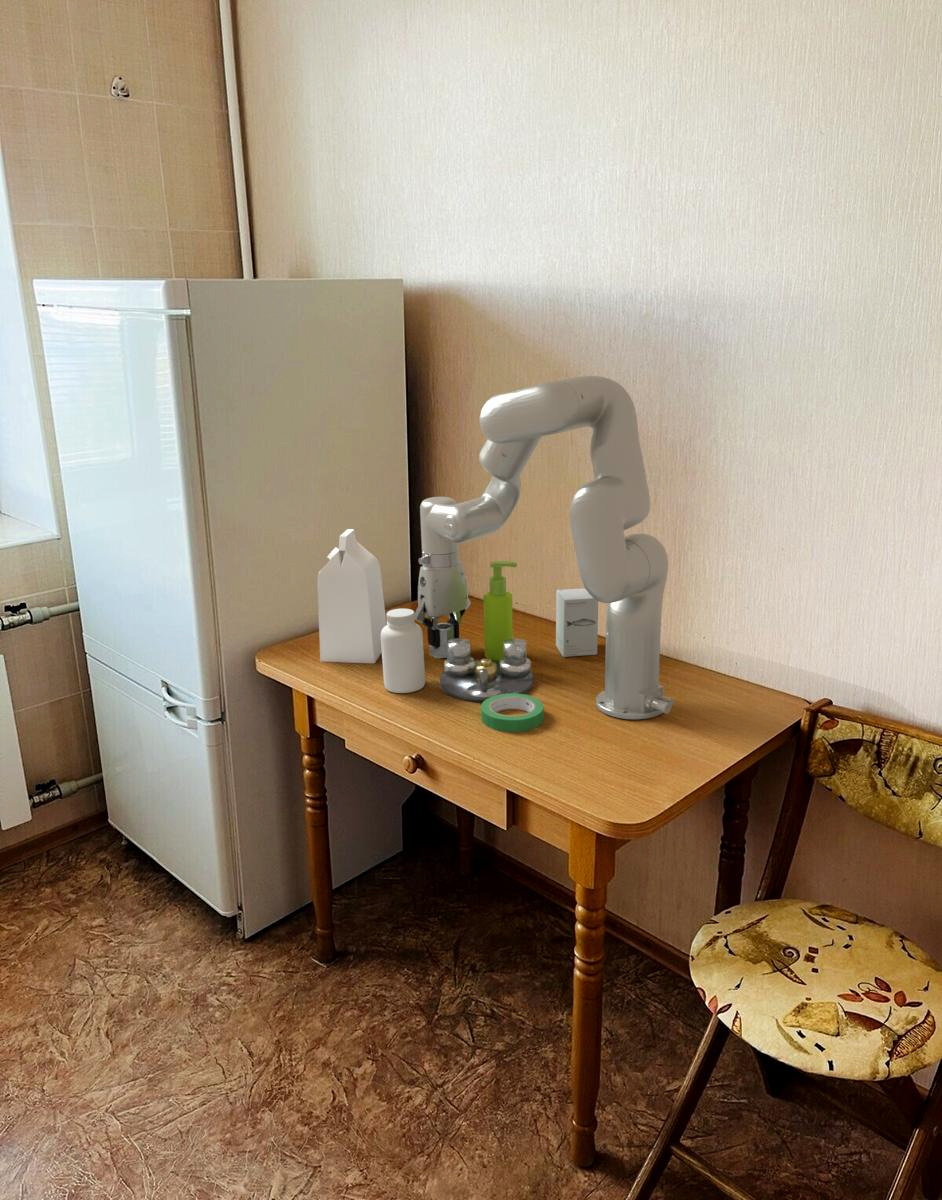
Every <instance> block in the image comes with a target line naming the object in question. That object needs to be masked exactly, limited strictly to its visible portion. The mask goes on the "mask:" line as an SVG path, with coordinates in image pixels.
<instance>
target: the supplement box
mask: <svg viewBox="0 0 942 1200" xmlns="http://www.w3.org/2000/svg"><path fill="white" fill-rule="evenodd" d="M555 593H556V594H555V595H556V596H555V597H556V598H555V600H556V602H555V608H556V609H555V620H556V622H555V646H556V648H557V649H558V651H559V653H560V654H561V656H562V657H563V658H566V657H578V656H582V657H583V656H597V654H598V630H599V629H598V628H599V627H598V626H599V625H598V624H599V623H598V621H599V601H598V600H596V599H594V598H593V597H592V596H591V595H590V594H589V593H588V592H587V590H586V589H585V587H584V588H570V589H567V588H566V589H556V591H555Z"/></svg>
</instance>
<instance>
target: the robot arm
mask: <svg viewBox="0 0 942 1200" xmlns="http://www.w3.org/2000/svg"><path fill="white" fill-rule="evenodd" d="M586 427H589V428H591V429H592V434H591V439H590V446H589V447H590V448H589V449H590V450H589V451H590V460H591V465H592V470H593V480H591V481H589V482H586V483H584V484H582V485H581V486H580V487H579V488H578V489H577V490H576V491H575V493H574V494H573V497H572V499H571V501H570V506H569V523H570V529H571V536H572V540H573V545H574V551H575V555H576V560H577V562H576V563H577V565H578V570H579V576H580V579H581V581H582V584H583V587H584V588H585V589H586V590H587V592H588V593H589V594H590V595H591V596H592V597H593V598H594V599H596V600H598V602H600V603H604V604H607V607H606V617H605V619H606V621H605V622H606V623H605V658H604V659H605V664H604V668H605V669H604V690H602V691H601V692H599V693H598V694H597V695H596V698H595V705H596V707H597V708H598V710H599V711H600V712H601V713H603V714H606V715H607V716H611V717H613V718H618V719H624V720H645V719H652V718H655V717H657V716H660V715H661V714H667V715H668V714H669V713H670V712H671V710H672V706H674V703H675V700H674V698H672V697H669V696H665V695H664V685H661V684H660V683H659V682H660V661H661V660H660V658H661V657H660V654H661V633H662V631H661V630H662V629H661V628H662V612H663V611H662V610H663V599H664V595H665V594H664V593H665V588H666V583H667V579H668V573H669V558H668V553H667V551H666V547H665V546H664V545H663V543H662V542H661V541H660V540H659V539H658V538H656V537H655V536H653V535H651V534H646V533H633V534H627V535H626V536H625V531H626V530H629V529H631V528H633V527H635V526H637V525H639V524H641V523H642V522H644V521H645V520H646V519H647V517H648V515H649V513H650V510H651V496H650V492H649V485H648V484H649V483H648V479H647V474H646V469H645V467H646V466H645V463H644V457H643V452H642V449H641V442H640V441H641V440H640V435H639V427H638V417H637V413H636V407H635V404H634V401H633V399H632V397H631V396H630V393H629V392H628V391H627V390H626V389H625V387H624V386H622V385H621V384H620V383H618V382H616V381H614V380H613V379H610V378H608V377H604V376H599V375H583V376H576V377H569V378H565V379H557V380H553V381H548V382H543V383H539V384H535V385H531V386H527V387H525V388H523V387H522V388H520V389H516V390H513V391H508V392H507V391H506V392H503V393H498V394H494V395H493V396H491V397H489V398H488V400H486V402H485V403H484V404H483V406H482V408H481V411H480V415H479V428H480V430H481V432H482V435H483V436H484V437H485V438H486V441H485V443H484V444H483V446H482V448H481V451H480V452H479V454H478V460H479V463H480V465H481V467H482V468H483V470H485V471H486V473H488V474H489V475H490V476H491V478H490V481H489V483H488V485H487V487H486V488H485V490H484V492H483V493H482V494H481V496H480V497H476V498H473V499H470V500H467V501H464V502H460V503H457V501H456V500H455V499H454V498H452V497H448V496H433V497H428V498H425V499H424V500H422V502H421V503H420V506H419V509H420V510H419V514H420V515H419V516H420V532H421V533H420V536H421V537H420V538H421V539H420V540H421V557H419V558H418V564H419V565H422V566H420V568H419V575H418V583H417V584H418V585H417V603H418V606H417V607H416V610H415V611H414V612H415V621H418V622H420V623H421V624H422V625H423V626H424V627H425V628H427V629H426V630H427V642H428V643H427V644H428V645H429V646H430V645H431V646H433V647H436V648H438V647H440V630H439V629H437V625H438V623H439V617H443V616H446V615H448V620H446V623H450V624H453V625H454V632H455V639H456V638H460V623H461V622H462V617H463V616H464V614H465V612H466V610H468V608H469V607H470V605H472V604H471V600H470V599H469V592H468V582H467V581H468V580H467V575H466V571H465V566H464V563H463V562H461V561H460V544H463V543H468V542H472V541H474V540H476V539H478V538H483V537H485V536H488V535H492V534H494V533H496V532H498V531H499V530H501V528H503V526H504V525H505V524H506V523H507V521H508V520H509V517H510V516H511V515H512V512H513V511H514V510H515V508H516V506H517V504H518V502H519V499H520V496H521V491H522V490H521V487H522V481H521V479H522V478H521V474H522V472H523V470H524V468H525V467H526V465H527V463H528V462H529V460H530V458H531V456H532V454H533V453H534V451H535V449H536V448H537V446H538V444H539V442H540V441H541V439H542V437H545V436H550V435H556V434H561V433H565V432H569V431H572V430H573V431H574V430H577V429H578V430H579V429H582V428H586ZM424 614H425V615H424Z"/></svg>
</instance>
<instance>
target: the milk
mask: <svg viewBox="0 0 942 1200" xmlns="http://www.w3.org/2000/svg"><path fill="white" fill-rule="evenodd" d="M338 541H339V542H338V546H337V547H336V546H335V547H334V549H332V551H331V552H330V553H329V554H328V555H327V556H326V558H327V559H329V560H328V561H327V563H326V564H325V565H323V566H322V568H321V569H320V570H319V571H318V573H317V574H318V575H317V578H316V579H317V580H316V581H317V582H316V583H317V608H318V609H317V611H318V632H319V636H318V637H319V659H320V660H319V661H320V662H325V663H327V662H328V663H330V662H331V663H354V664H355V663H356V664H359V663H360V664H375V663H376V662H377V660H378V659H379V658H380V656H381V655H382V648H381V631H382V629H383V628H384V627H385V626H386V625H387V616H386V609H385V602H384V601H385V599H384V590H383V582H382V572H381V571H382V570H381V565H380V562H379V560H378V559H377V557H376V556H375V555H374V554H373V553H371V552H370V551H369V550H368V549H366V548H365V547H364V546H363V545H362V544H361V543H359V542H358V541H357V539H356V531H355V529H353V528H351V529H350V528H348V529H346V530H345V531H344V532H343V533H342V534H340V535H339V540H338Z"/></svg>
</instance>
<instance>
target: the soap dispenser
mask: <svg viewBox="0 0 942 1200" xmlns="http://www.w3.org/2000/svg"><path fill="white" fill-rule="evenodd" d="M489 566H490V568H492V576H491V577H489V579H488V580H489V581H488V583H489V584H488V585H489V587H488V589H489V591H488V592H487V591H486V593H484V594H483V631H484V632H483V634H484V637H483V638H484V639H483V640H484V657H485V658H487V659H491V660H501V659H503V658H504V641H505V640H508V639H514V631H513V630H514V629H513V627H514V626H513V624H514V622H513V621H514V619H513V594H512V593H511V592H509V591H507V578H506V577H504V576H503V575H502V574H503V573H502V567H510V568H516V567H518V563H517V562H514V561H509V560H500V561H498V560H497V561H490V565H489Z"/></svg>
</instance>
